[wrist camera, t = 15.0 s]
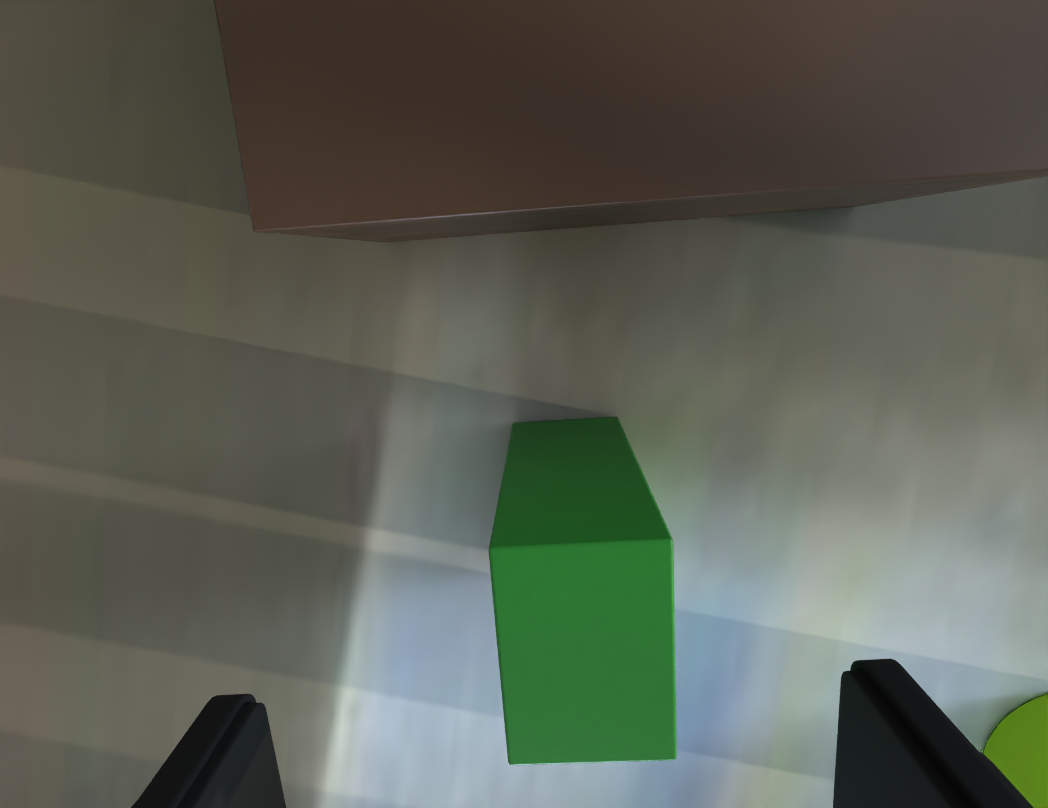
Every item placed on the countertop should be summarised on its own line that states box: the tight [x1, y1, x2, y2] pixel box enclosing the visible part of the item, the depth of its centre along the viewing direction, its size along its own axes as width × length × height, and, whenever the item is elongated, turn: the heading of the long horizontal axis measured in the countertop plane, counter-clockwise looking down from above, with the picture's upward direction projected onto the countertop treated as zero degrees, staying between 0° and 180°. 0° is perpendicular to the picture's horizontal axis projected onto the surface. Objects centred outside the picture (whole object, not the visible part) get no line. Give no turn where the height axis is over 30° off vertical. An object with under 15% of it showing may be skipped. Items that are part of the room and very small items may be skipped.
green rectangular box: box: [489, 417, 677, 765], centre depth 16 cm, size 5×4×9 cm
